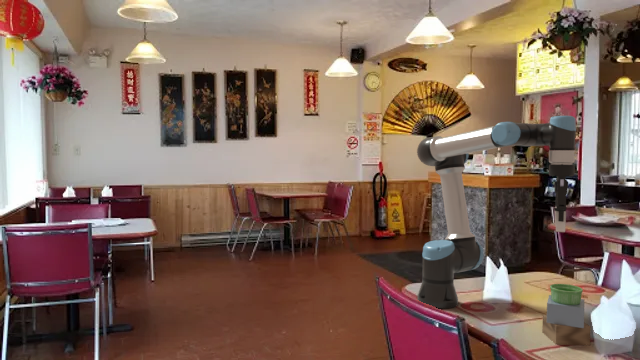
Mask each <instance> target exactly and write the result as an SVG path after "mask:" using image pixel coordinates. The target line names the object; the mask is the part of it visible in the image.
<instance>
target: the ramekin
mask: <svg viewBox="0 0 640 360" xmlns="http://www.w3.org/2000/svg"><path fill="white" fill-rule="evenodd" d="M549 288H550V295H551V298H552V300H553V301H554V302H557V303H560V304H565V305H578V304H580V302H581V299H582V296H583V294H582V293H583V291H584V289H583V288H582V287H580V286H578V285H573V284H568V283H554V284H553V283H552V284H551V285H549Z"/></svg>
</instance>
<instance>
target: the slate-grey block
mask: <svg viewBox="0 0 640 360" xmlns="http://www.w3.org/2000/svg"><path fill="white" fill-rule="evenodd" d="M546 315H547V323H552V324H559V325H566V326H572V327H579V328H584V322H585V299H584V298H581V302H580V304H578V305H565V304H560V303H557V302H554V301H553V300H552V298H551V294H549V295H548V297H547V301H546Z"/></svg>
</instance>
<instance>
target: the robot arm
mask: <svg viewBox="0 0 640 360" xmlns="http://www.w3.org/2000/svg"><path fill="white" fill-rule="evenodd" d="M576 123H577V122H576V118H575V117H574V116H572V115H555V116H551V117H550V118H549V122H546V123H525V122H513V121H501V122H498V123H497V124H495V125H493V126H488V127H485V128H483V127H482V128H480V129H479V128H478V129H475V130H471V131H466V132H461V133H457V134H453V135H449V136H445V137H442V136H440V135H437V136H436V135H435V136H431V137H426V138H424V139H422V140H421V141H420V142H419V144H418V146H417V149H416V153H417V154H416V155H417V157H418V159H419V160H420V162H421V163H422V164H424V165H426V166H429V167H434V168H435V169H434V170H435V173H436V174H438V175H439V177H440V184H441V185H440V186H441V192H442V201H443V206H444V215H445V220H446V221H445V223H446V229H447V235H446V237H445V238H444V239H438V240H437V239H435V240H430V241H428V242H425V243H424V245H423V247H422V253H421V254H422V255H421V256H422V283H421V285H420V288H419V291H418V293H417V300H419V301H421V302H423V303H426V304H429V305H432V306H435V307H437V308H436V309H452V308H454V307H457V306H458V305H459V297H458V294H457V290H456V287H455V285H454V279H455V278H454V277H455V276H454V275H455V274H456V273H462V272H470V271H472V270H476V269H477V268H479V267H480V266H481V265H482V263H483V261H484V248H483V246H482V245H481V244H480V243H479V242H478V241H477V240H476V235H475V234H473V233H472V232H471V229H470V222H469V215H468V209H467V208H468V207H467V200H466V194H465V187H464V181H463V179H464V178H463V171H464V170H465V169H466V167H465V165H466V163H467V161H468V159H469V156H470V155H469V154H472V153H477V152H482V151H487V150H492V149H494V150H495V149H499V148H505V147H513V146H519V147H540V146H542V147H544V146H546V147H549V150H548V162H549V163H550V164H549V165H548V175H549V176H551V177H556V178H555V181H554V182H553V183H554V184H553V186H554V193H555V202H554V203H555V204H554V206H555V207H554V209H553V210H554V226H555V232H557V233H565V232H566V226H567V225H566V224H567V223H566V220H567V219H566V218H567V194H568V187H569V182H568V181H567V179H566V177H573V176H575V170H576V169H575V167H576V166H575V164H573V163H575V162H576V161H575V159H576V157H577V156H578V154H577V153H576V135H577V133H576V132H577V126H576V125H577V124H576Z"/></svg>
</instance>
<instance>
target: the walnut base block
mask: <svg viewBox="0 0 640 360" xmlns="http://www.w3.org/2000/svg"><path fill="white" fill-rule="evenodd" d="M591 329H592V327H591V326H590V325H589V324H587V323H586V322H585V321H584V328H579V327H572V326H566V325H559V324H552V323H547V314H542V330H541V331H542V334H544V336H546V338H548V339H549V340H550V341H553V342H552V343H554V345H556V344H557V345H559V346H560V345H561V346H591Z"/></svg>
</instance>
